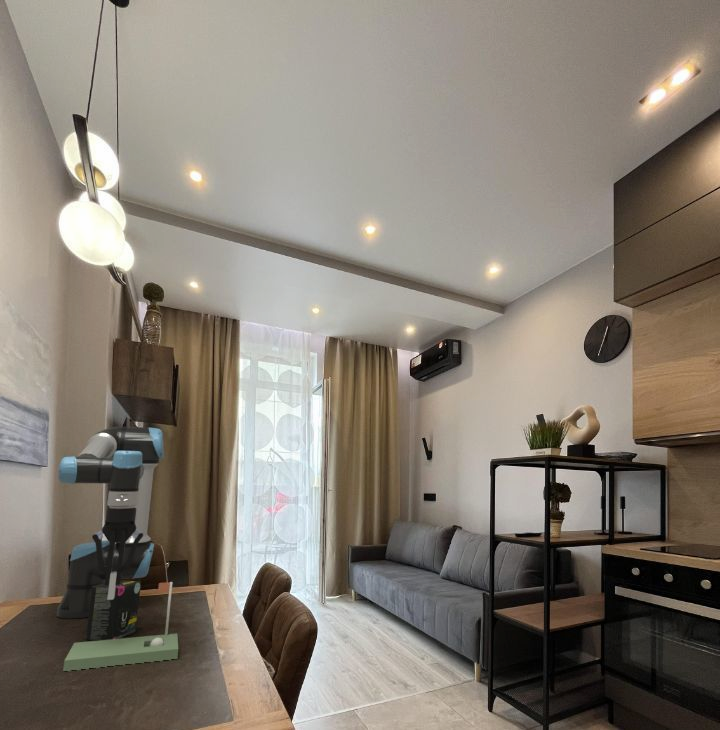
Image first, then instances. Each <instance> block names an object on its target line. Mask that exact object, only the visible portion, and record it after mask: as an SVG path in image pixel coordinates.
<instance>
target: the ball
mask: <svg viewBox="0 0 720 730" xmlns="http://www.w3.org/2000/svg"><path fill="white" fill-rule="evenodd" d="M159 645H164V641H163V639H161V638H155V639H153V640H152V641H151V643H150V646H159Z"/></svg>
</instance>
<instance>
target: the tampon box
mask: <svg viewBox="0 0 720 730" xmlns="http://www.w3.org/2000/svg"><path fill="white" fill-rule="evenodd" d="M141 588H142V581H138V580H137V581H135V580H127V579H125V580H124V579H121V583H120V585H116V589H115V597H114V599H113V600H107V598H108V590H109V586H105V582H104V583H103V584H99V585H95V586H93V587H92V594H91V601H90V609H89V617H87V618H88V619H87V624H86V625H87V627H86V634H85V640H86V641H100V640H111V639H122V638H126V637H127V635H128V636H130V635H132V634H135V633H136V629H137V628H136V627H137V620H138V613H139V612H138V611H139V602H140V594H141ZM134 632H135V633H134Z"/></svg>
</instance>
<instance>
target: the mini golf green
mask: <svg viewBox="0 0 720 730" xmlns="http://www.w3.org/2000/svg"><path fill="white" fill-rule="evenodd" d="M173 584H174V583H173V581H170V582H159V583H158V590H157V592H168V598H167V599H168V600H167V608H166V609H167V610H166V617H165V618H166V621H165V631H164V634H157V635H155V634H154V635H145V636H136V637H123V638H121V639H111V640H100V641H93V640H88V641H82V642H81V641H79V642H74V643H73V644H72V646H71V648H70V650H69V651H68V653H67V656H66V657H65V659H64V660H63V668H62V669H63V670H62V672H63V671H68V672H72V671H71V670H77V671H82V670H81V669H86V670H90V669H89V668H96V669H101V668H100V667H105V668H108V667H107V666H114V667H116V666H115V665H123V666H126V665H125V664H132V665H136V664H135V663H142V664H145V663H144V662H151V663H155V662H154V661H160V662H164V661H163V660H169V661H172V660H171V659H177V660H178V659H179V658H178V657H179V642H178V641H179V639H178V633H169V634H168V632H169V631H168V630H169V622H170V612H171V611H170V610H171V602H172V594H173V593H172V591H173ZM155 638H161V639H163V641H164V645H159V646H150V643H151V641H152V640H153V639H155Z"/></svg>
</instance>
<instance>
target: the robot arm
mask: <svg viewBox="0 0 720 730" xmlns="http://www.w3.org/2000/svg"><path fill="white" fill-rule="evenodd" d="M164 449H165V448H164V434H163V430H162V429H160V428H155V427H140V426H139V427H138V426H124V425H123V426H113V427H108V428H106V429H103V430H100V431H98V432H96V433H94V434H93V435H92V436H91V437H90V438H89V439H88V441H87V443H86V446H85V448H84V449H82V451H81V452H80V453H79V454H78V455H77V456H74V455H72V456H65V457H63V458H62V459H61V460H60V462H59V466H58V473H57V474H58V475H57V476H58V480H59V482H60V483H63V484H71V485H73V484H108V485H109V489H108V496H107V504H106V506H108V508H107V509H106V511H105V520H104V525H103V526H102V528H101V530H100V531H98V532H94V534H92V540H93V541H91V542H86V543H85V542H84V543H81V544H77V545H76V546H74V547H73V549H72V552H71V555H70V559H69V566H68V576H67V582H66V588H65V592H64V594H63V596H62V599H61V600H60V603H59V605H58V606H57V612H56V617H58V618H61V619H82V618H83V619H84V618H88V617H89V609H90V601H91V594H92V587H93V586H95V585H99V584H103V583H105V586H109V590H108V598H107V600H113V599H114V597H115V589H116V585H120V583H121V580H124V579H125V580H127V579H128V580H129V579H132V580H134V579H141V578H144V577H146V576H147V575H148V573H149V570H150V565H151V561H152V557H153V553H154V547H155V544H154V543H153V542H151V541H152V540H151V539H152V538H151V537H150V536H149V534H148V527H149V518H150V517H149V516H150V511H151V510H150V509H151V500H152V492H153V491H152V489H153V479H154V471H155V468H156V467H158V465H159V464H160V462H159V461H160V460H163V459H164V457H165V455H164ZM103 537H105V538H106V540H102V539H103Z"/></svg>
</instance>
